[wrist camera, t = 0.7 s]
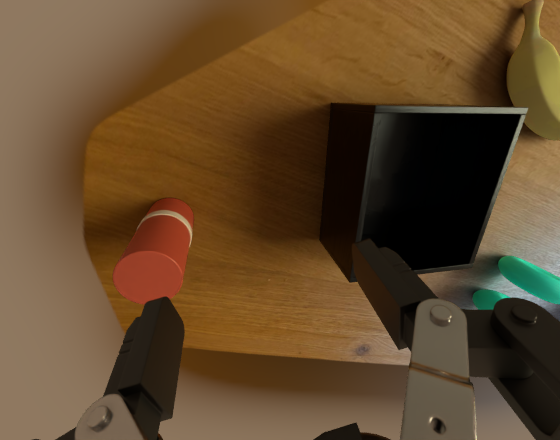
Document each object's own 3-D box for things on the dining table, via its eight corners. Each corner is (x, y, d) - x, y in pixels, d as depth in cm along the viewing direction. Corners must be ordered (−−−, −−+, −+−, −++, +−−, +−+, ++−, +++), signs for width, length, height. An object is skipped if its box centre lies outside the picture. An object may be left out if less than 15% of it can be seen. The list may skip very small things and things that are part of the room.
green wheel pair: (456, 294, 48) (511, 340, 39) (492, 246, 45) (560, 283, 36) (493, 305, 51) (551, 349, 42) (528, 260, 48) (599, 298, 39)
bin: (330, 102, 30) (375, 104, 22) (449, 104, 33) (529, 107, 25) (319, 240, 37) (349, 282, 29) (417, 231, 40) (471, 268, 32)
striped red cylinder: (143, 198, 30) (103, 253, 20) (192, 195, 31) (179, 246, 21) (151, 239, 32) (119, 309, 22) (197, 236, 34) (187, 301, 23)
